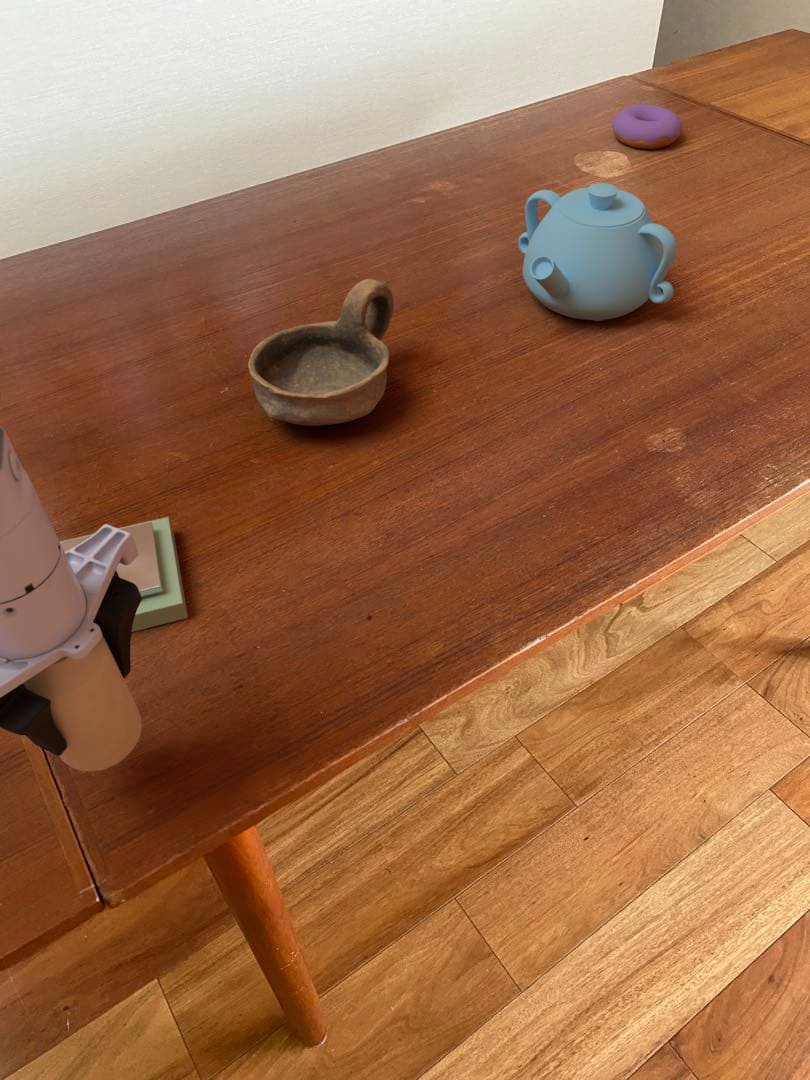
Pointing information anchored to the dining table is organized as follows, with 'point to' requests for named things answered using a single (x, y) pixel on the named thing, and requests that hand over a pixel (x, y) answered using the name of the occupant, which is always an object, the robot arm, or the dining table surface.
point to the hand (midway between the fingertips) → (83, 706)
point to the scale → (172, 597)
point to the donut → (646, 126)
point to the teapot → (595, 253)
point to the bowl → (327, 363)
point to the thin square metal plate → (137, 559)
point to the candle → (90, 708)
